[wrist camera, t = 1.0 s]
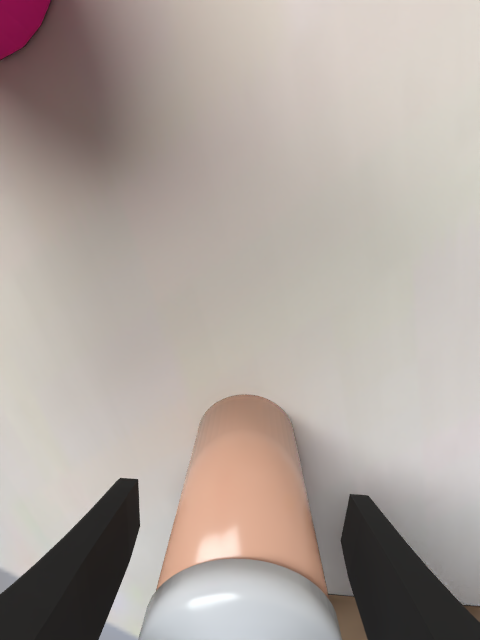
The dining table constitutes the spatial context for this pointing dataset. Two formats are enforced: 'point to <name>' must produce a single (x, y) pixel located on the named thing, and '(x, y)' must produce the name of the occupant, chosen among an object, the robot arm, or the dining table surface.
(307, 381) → the dining table surface
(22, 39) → the pepper mill
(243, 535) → the terracotta shaker
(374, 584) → the robot arm
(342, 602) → the walnut tray
